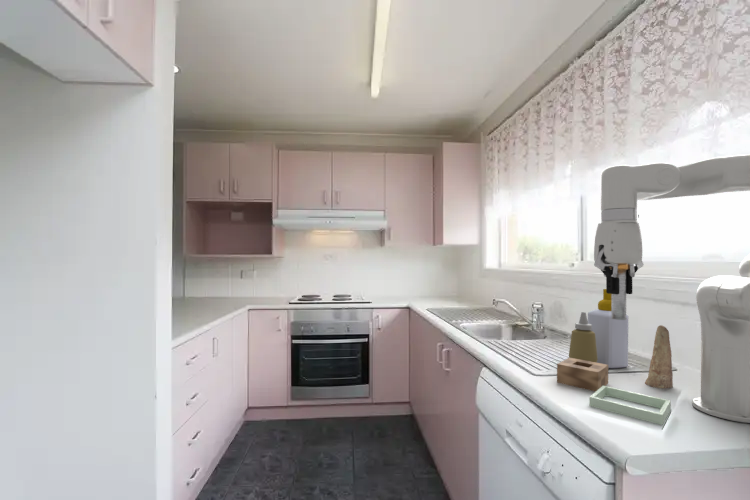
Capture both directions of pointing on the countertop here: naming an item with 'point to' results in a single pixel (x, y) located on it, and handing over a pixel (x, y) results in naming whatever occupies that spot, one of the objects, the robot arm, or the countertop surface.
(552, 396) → the countertop surface
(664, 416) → the tray
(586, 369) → the socket block
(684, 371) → the countertop surface
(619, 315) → the pin
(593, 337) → the squeeze bottle
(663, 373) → the tapered stone wedge
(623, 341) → the soap bottle
